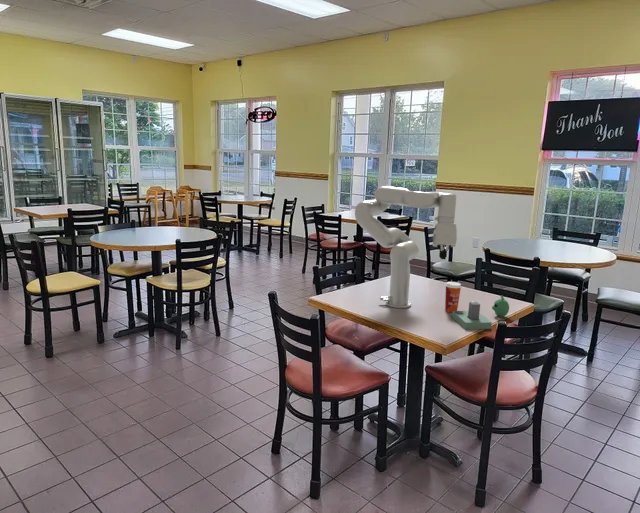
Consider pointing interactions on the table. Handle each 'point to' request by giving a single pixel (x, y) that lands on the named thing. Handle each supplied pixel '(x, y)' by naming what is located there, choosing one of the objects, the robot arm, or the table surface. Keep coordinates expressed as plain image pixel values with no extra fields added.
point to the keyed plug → (473, 310)
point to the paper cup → (452, 296)
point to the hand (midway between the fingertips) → (442, 258)
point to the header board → (471, 321)
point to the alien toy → (501, 307)
